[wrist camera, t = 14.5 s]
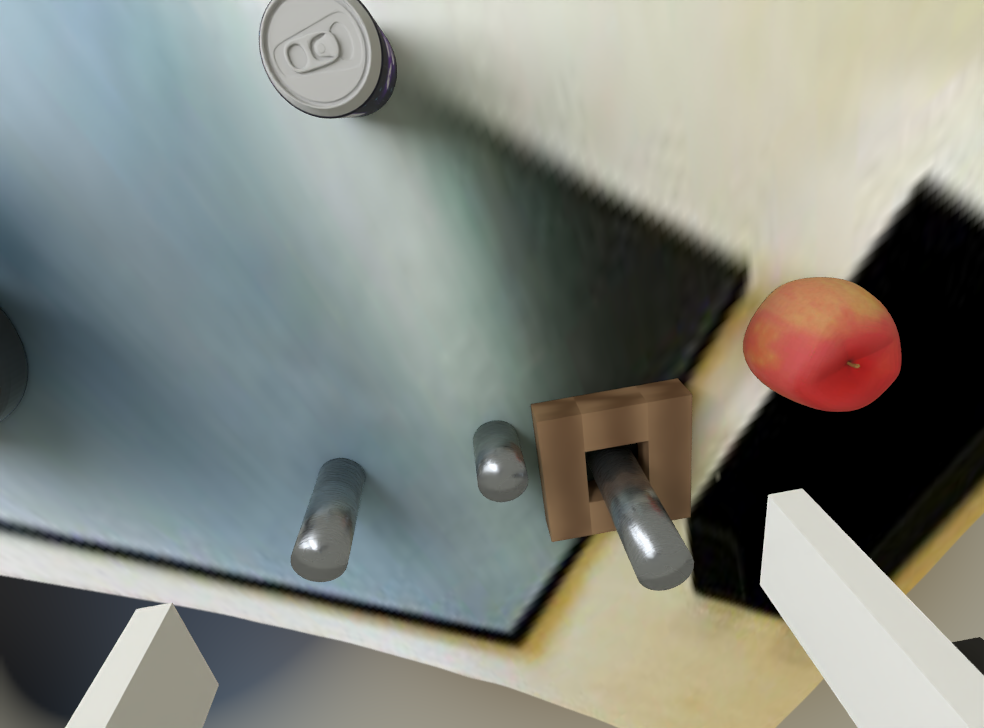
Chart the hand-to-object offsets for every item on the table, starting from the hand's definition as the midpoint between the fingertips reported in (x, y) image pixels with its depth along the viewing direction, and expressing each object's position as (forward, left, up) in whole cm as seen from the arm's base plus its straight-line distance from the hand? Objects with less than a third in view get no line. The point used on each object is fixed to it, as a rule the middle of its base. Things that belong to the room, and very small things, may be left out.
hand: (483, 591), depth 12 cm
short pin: (+1, -17, -32) cm, 36 cm away
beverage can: (-4, +13, -32) cm, 35 cm away
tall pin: (+11, -20, -32) cm, 39 cm away
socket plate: (+11, -20, -32) cm, 39 cm away
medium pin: (-13, -18, -32) cm, 39 cm away
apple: (+26, -10, -32) cm, 42 cm away
